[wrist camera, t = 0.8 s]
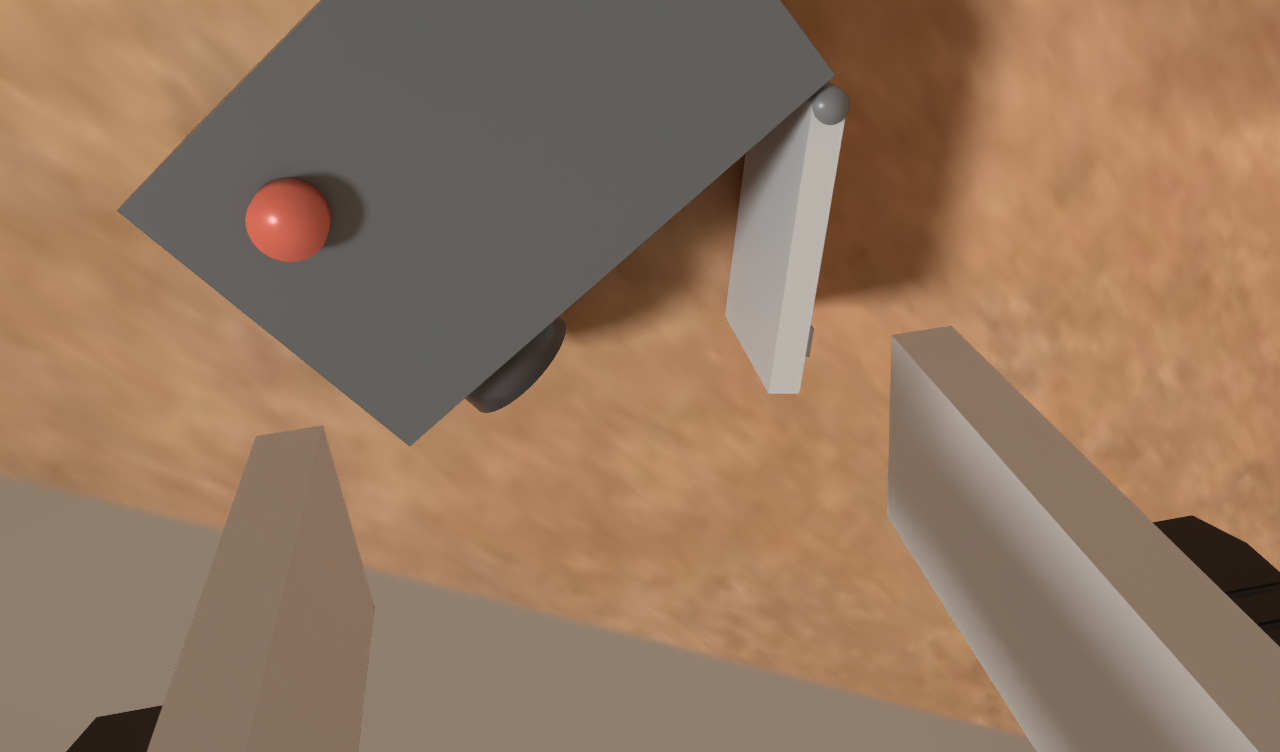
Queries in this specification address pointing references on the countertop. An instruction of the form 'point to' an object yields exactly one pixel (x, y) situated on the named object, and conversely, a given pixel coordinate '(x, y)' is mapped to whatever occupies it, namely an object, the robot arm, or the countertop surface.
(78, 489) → the countertop surface
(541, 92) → the box with round dial
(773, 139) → the side door
